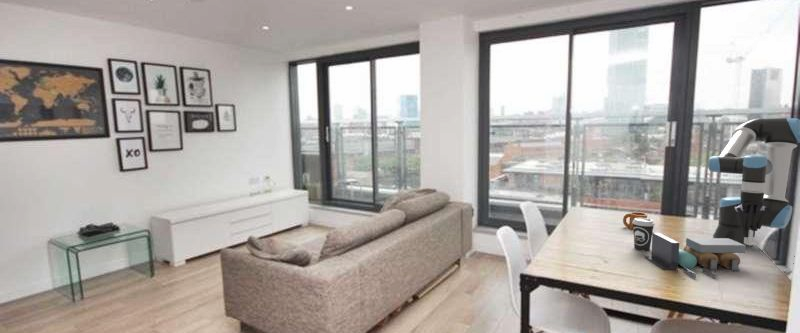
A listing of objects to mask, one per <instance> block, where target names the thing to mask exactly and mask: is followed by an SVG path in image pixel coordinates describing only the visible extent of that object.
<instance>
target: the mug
mask: <svg viewBox="0 0 800 333" xmlns="http://www.w3.org/2000/svg"><path fill="white" fill-rule="evenodd" d="M628 218H629V223H628V222H627V219H628ZM634 218H648V213H645V212H639V211H631V212H629V213H626V214H625V215H624V216H623V218H622V222H623V225H624V226H625V227H626V228H629V229H630V230H633V231H634V229H633V223H632V222H633V220H634Z"/></svg>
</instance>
